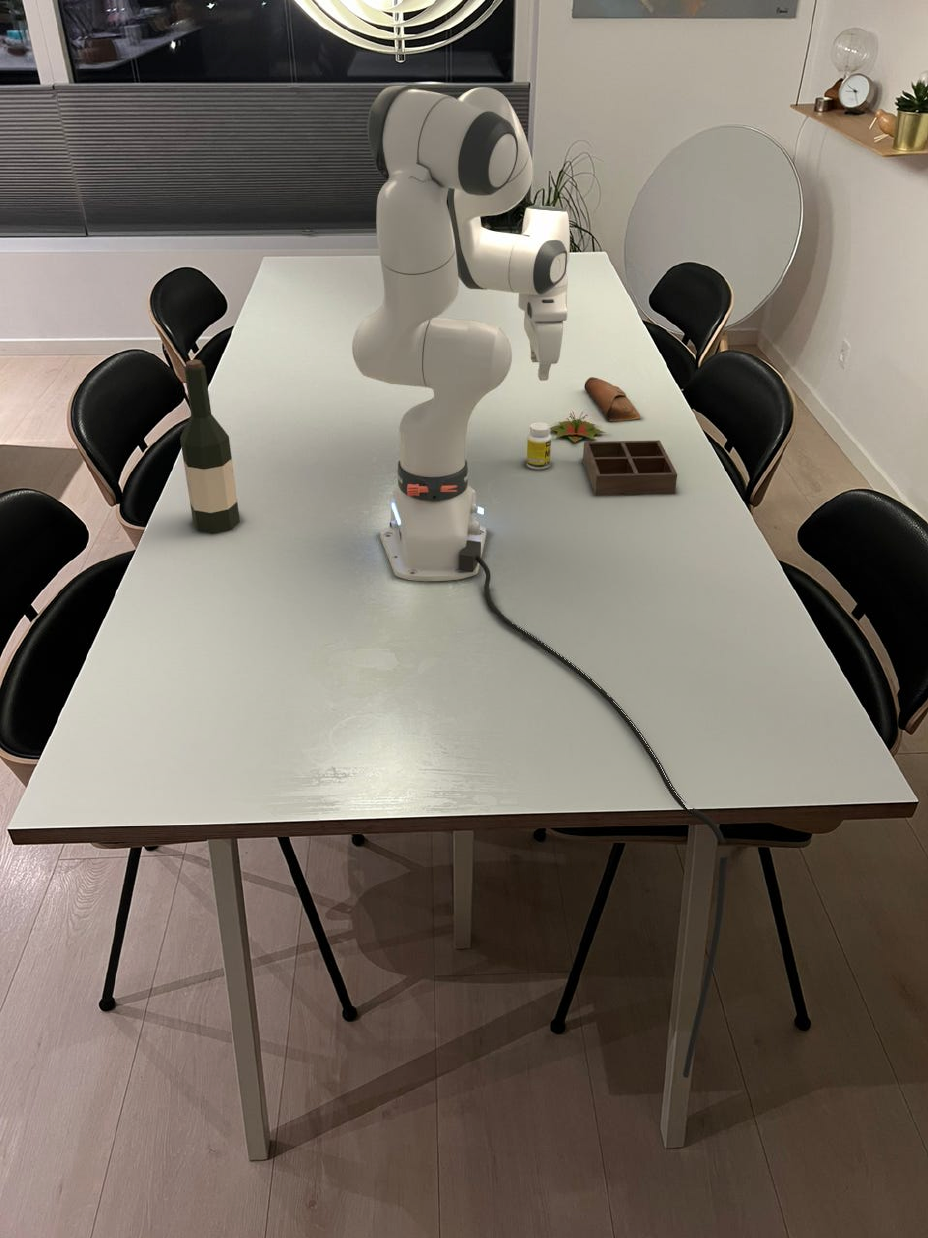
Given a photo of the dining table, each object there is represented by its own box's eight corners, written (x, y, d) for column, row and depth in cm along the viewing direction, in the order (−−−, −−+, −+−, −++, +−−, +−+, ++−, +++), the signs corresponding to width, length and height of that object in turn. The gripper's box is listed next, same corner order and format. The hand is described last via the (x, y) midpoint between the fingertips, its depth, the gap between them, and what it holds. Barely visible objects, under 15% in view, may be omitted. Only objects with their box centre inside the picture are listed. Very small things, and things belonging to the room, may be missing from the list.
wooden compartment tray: (675, 493, 200) (677, 474, 197) (595, 495, 199) (596, 475, 197) (657, 458, 212) (659, 440, 210) (582, 460, 212) (584, 441, 209)
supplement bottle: (548, 471, 207) (550, 431, 203) (524, 469, 208) (526, 429, 203) (551, 461, 211) (553, 422, 207) (528, 458, 212) (529, 420, 207)
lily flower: (578, 417, 230) (579, 397, 227) (616, 435, 222) (618, 415, 219) (536, 430, 224) (537, 410, 221) (573, 449, 216) (575, 429, 213)
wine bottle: (196, 512, 192) (172, 353, 175) (242, 510, 193) (222, 352, 176) (189, 534, 185) (163, 371, 169) (237, 533, 186) (216, 370, 169)
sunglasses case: (643, 417, 229) (631, 393, 225) (615, 434, 230) (603, 411, 226) (618, 387, 243) (606, 364, 240) (592, 403, 244) (579, 381, 241)
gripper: (517, 281, 200) (515, 351, 208) (533, 315, 183) (530, 390, 191) (550, 280, 200) (546, 350, 208) (569, 314, 184) (564, 389, 191)
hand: (539, 369), depth 199 cm, fingers open, 8 cm apart
